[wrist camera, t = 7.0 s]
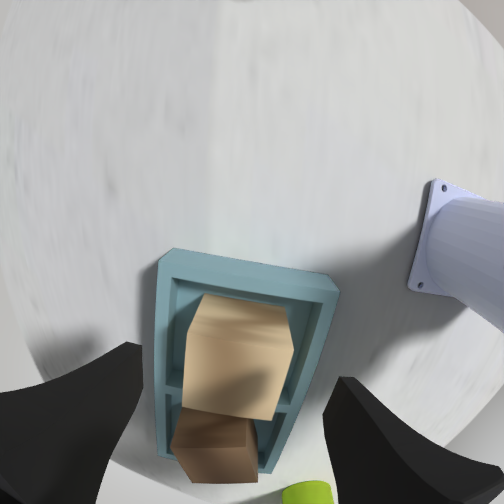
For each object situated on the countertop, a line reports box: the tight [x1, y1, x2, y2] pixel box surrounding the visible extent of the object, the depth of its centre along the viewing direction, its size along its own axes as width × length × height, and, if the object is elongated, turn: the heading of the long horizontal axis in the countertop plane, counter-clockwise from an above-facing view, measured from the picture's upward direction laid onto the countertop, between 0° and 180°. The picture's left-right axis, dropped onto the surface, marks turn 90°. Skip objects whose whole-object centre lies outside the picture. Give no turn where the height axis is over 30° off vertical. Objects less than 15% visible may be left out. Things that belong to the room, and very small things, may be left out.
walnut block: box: [170, 407, 258, 484], centre depth 18 cm, size 5×5×5 cm
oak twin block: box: [182, 293, 294, 421], centre depth 16 cm, size 5×5×5 cm
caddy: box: [154, 248, 340, 474], centre depth 19 cm, size 10×18×3 cm, turn 170°
